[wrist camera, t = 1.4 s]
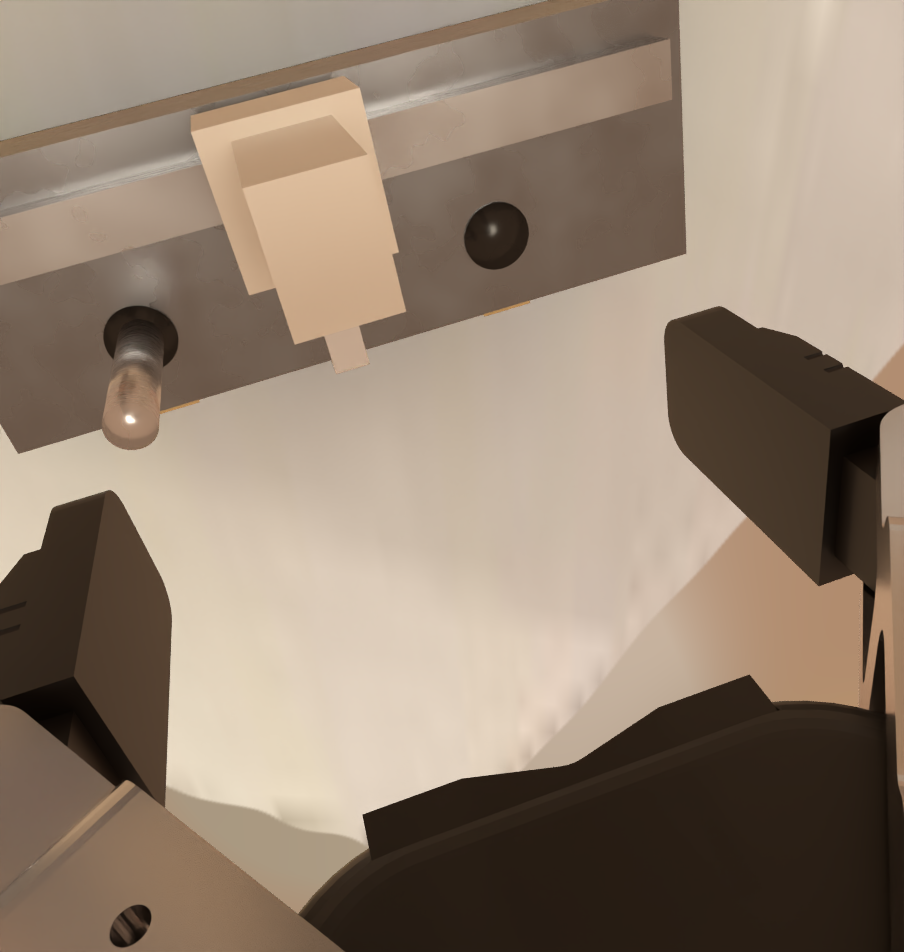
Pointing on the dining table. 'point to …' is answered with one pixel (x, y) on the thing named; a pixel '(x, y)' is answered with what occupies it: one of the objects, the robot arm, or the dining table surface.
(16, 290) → the hole bar
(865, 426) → the robot arm
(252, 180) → the tan slider handle
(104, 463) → the dining table surface
